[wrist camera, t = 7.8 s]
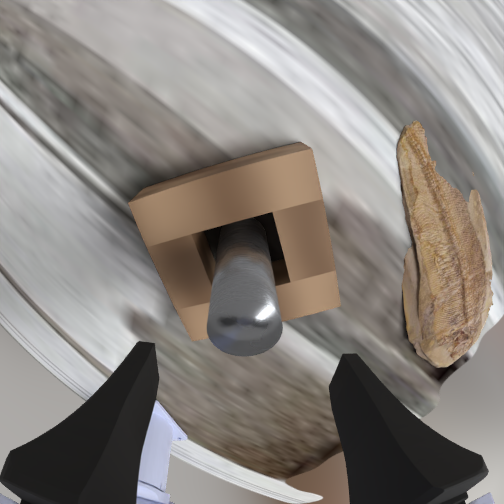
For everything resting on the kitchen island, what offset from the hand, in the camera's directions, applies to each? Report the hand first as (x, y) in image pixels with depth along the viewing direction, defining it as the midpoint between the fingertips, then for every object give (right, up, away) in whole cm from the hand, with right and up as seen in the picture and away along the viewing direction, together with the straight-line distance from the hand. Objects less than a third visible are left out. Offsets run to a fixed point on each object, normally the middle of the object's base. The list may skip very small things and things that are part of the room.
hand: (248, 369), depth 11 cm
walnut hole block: (0, +5, +9) cm, 10 cm away
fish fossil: (+17, +4, +11) cm, 21 cm away
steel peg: (0, +5, +9) cm, 10 cm away
